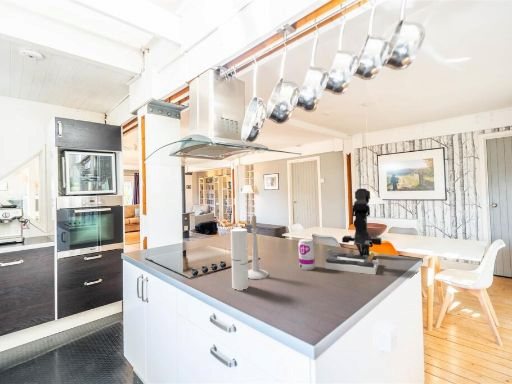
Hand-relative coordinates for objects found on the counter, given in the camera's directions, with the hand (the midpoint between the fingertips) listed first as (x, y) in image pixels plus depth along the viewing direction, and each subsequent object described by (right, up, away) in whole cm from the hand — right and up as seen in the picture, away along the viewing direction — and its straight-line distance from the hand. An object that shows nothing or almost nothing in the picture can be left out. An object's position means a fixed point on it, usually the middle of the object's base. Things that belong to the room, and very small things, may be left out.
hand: (361, 256), depth 136 cm
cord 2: (-1, -3, +8) cm, 9 cm away
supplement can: (-28, -7, +2) cm, 29 cm away
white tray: (-4, -6, +2) cm, 8 cm away
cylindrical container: (-62, -8, -23) cm, 67 cm away
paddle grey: (-13, -2, +7) cm, 15 cm away
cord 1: (-8, -3, -4) cm, 9 cm away
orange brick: (+3, -2, -2) cm, 4 cm away
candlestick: (-56, -8, -7) cm, 57 cm away
